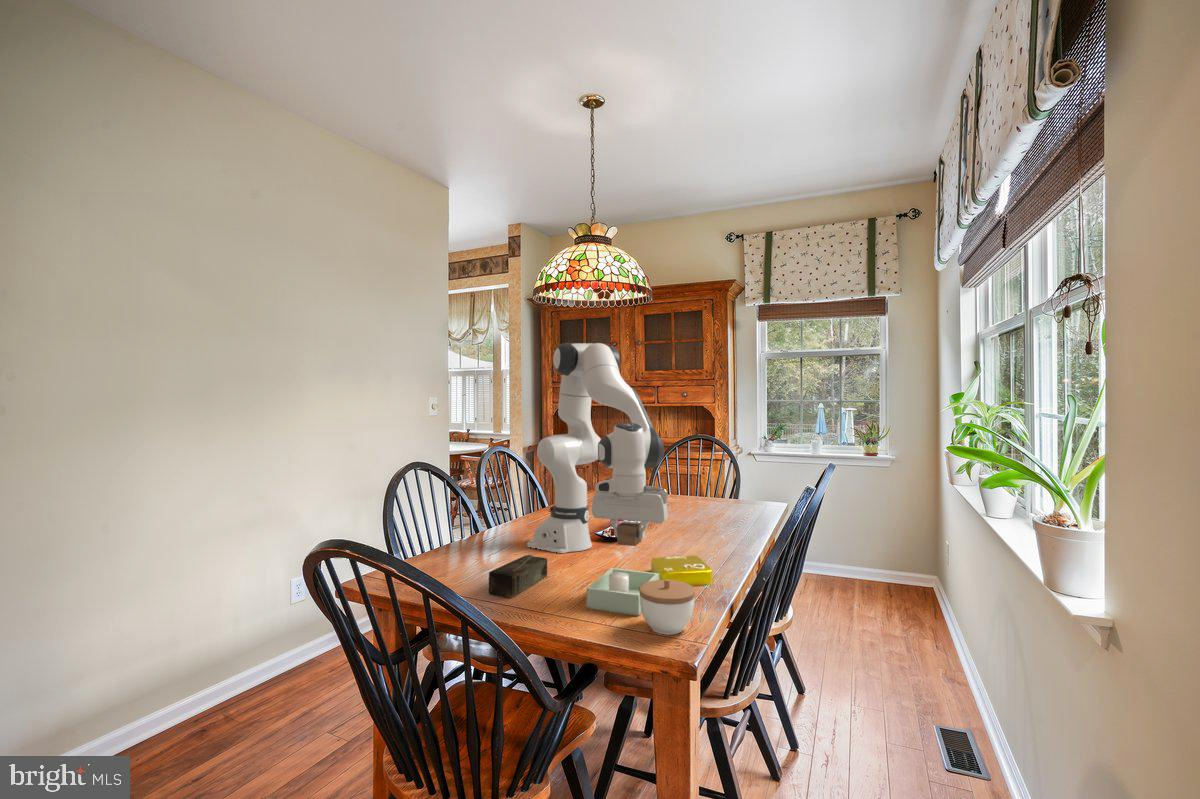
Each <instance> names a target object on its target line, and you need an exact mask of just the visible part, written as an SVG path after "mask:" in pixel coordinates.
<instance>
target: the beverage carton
mask: <svg viewBox="0 0 1200 799" xmlns="http://www.w3.org/2000/svg"><path fill="white" fill-rule="evenodd" d="M547 576H548V558H547V557H541V556H536V555H535V556H533V554H527V555H523V556H521V557H519V558H517V559H514V560H512V561H510V562H508V563H505V564H504V565H501V566H500V567H497V568H495V569H493V570H492V569H491V571H489V572H488V594H489V595H492V596H497V595H498V597H501V596H503V598H507V597H508V599H513V598H515V597H516V596H518V595H519V594H521V593H522V592H524V591H526V590H528V589H529V587H530V588H531V586H532V587H533V586H535V585H537V584H538V583H540V582H541V580H542V579H543V580H545V579H546V578H547ZM545 577H546V578H545ZM544 578H545V579H544ZM543 580H542V581H543ZM539 581H540V582H539ZM536 583H537V584H536ZM534 584H535V585H534Z"/></svg>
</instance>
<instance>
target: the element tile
mask: <svg viewBox="0 0 1200 799" xmlns="http://www.w3.org/2000/svg"><path fill="white" fill-rule="evenodd" d="M650 567H651V568H650V569H651V570H650V571H651V572H650V573H658V574H659V580H666V579H668V580H675V581H680V582H684V583H687V584H689V585H697V586H707V585H706V584H710V585H712V584H713V569H712V568H711V566H710V565H709V564H707V563H706V562H705V560H703V559H702V558H701V557H699V556H698V555H688V556H687V555H686V556H666V557H665V556H664V557H653V558H651V560H650ZM711 583H712V584H711Z"/></svg>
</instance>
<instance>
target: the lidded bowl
mask: <svg viewBox="0 0 1200 799" xmlns="http://www.w3.org/2000/svg"><path fill="white" fill-rule="evenodd" d="M695 590H696V589H695V588H694V587H693V586H691V585H689V584H687V583H684V582H680V581H675V580H668V579H666V580H655V581H650V582H646V583H644V584H642V585H641V586H640V588H639V593H640V605H641V611H642V613H641V615H642V617H643V620H645V623H646V624H647V625H648V626H649V627H651V628H650V629H651V630H652V631H653V632H654V633H655V634H656V633H657V634H660V635H667V636H671V635H677V634H679V633H681V632H683V630H684V629H685V628H686V627H687V626H688V625H689V623H690V621H691V619H692V617H693V614H694V610H695V609H694V608H695V596H696V591H695Z"/></svg>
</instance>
